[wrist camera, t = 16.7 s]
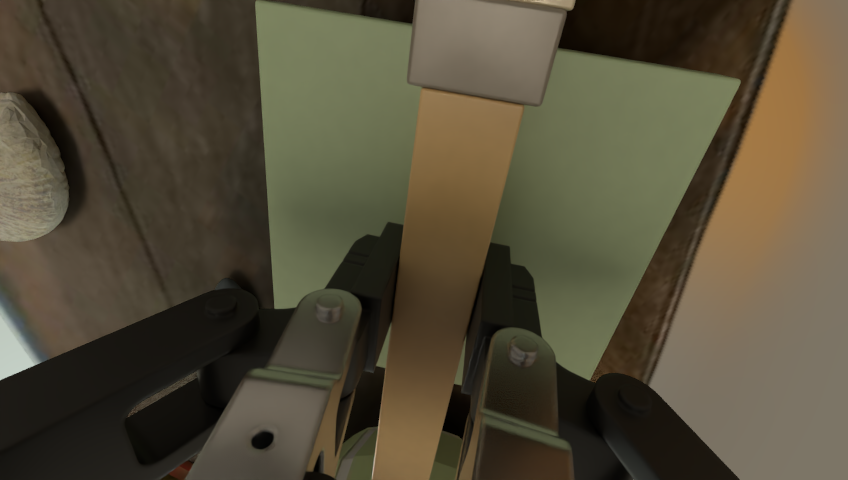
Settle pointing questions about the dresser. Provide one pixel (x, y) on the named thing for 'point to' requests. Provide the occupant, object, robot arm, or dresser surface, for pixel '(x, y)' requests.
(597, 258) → the shelf
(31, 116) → the fossil
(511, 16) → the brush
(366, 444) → the decorative sphere
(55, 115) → the dresser surface
